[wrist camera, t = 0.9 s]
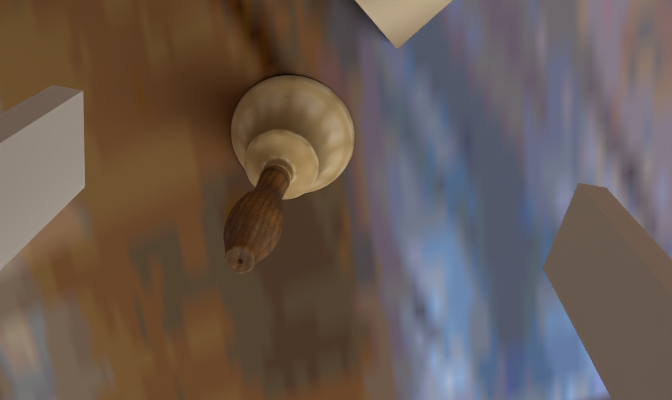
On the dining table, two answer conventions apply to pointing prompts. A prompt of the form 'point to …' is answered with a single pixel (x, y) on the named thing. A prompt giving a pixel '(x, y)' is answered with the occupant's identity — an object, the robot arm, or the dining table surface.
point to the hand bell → (282, 158)
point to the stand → (401, 16)
